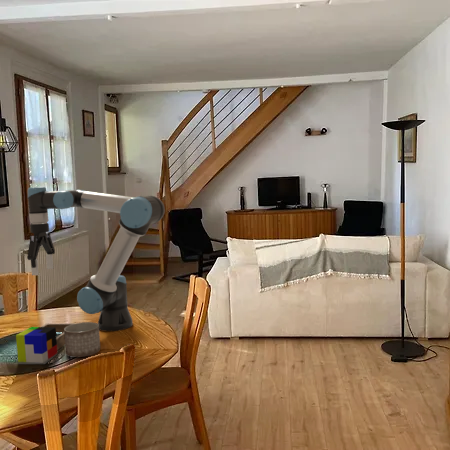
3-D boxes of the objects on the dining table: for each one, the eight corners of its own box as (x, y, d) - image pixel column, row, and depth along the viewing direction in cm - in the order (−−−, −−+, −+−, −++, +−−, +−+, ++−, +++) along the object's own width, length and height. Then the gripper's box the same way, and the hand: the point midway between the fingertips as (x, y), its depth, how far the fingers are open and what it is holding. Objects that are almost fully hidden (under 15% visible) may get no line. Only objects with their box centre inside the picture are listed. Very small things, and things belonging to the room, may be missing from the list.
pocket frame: (46, 333, 217) (46, 323, 217) (78, 333, 215) (78, 323, 215) (18, 352, 194) (17, 341, 194) (54, 353, 192) (53, 341, 192)
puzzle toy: (43, 362, 181) (40, 335, 180) (18, 361, 183) (15, 335, 182) (57, 353, 190) (55, 327, 189) (33, 352, 192) (31, 326, 191)
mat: (57, 354, 191) (57, 352, 191) (44, 364, 181) (44, 362, 181) (32, 354, 192) (32, 352, 192) (18, 364, 182) (18, 362, 182)
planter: (68, 362, 182) (66, 334, 181) (64, 351, 194) (62, 325, 193) (103, 355, 187) (101, 328, 186) (97, 345, 199) (95, 320, 198)
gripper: (44, 220, 227) (48, 266, 230) (15, 226, 203) (19, 278, 205) (60, 220, 227) (63, 266, 229) (33, 225, 202) (37, 277, 204)
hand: (43, 271), depth 217 cm, fingers open, 13 cm apart
